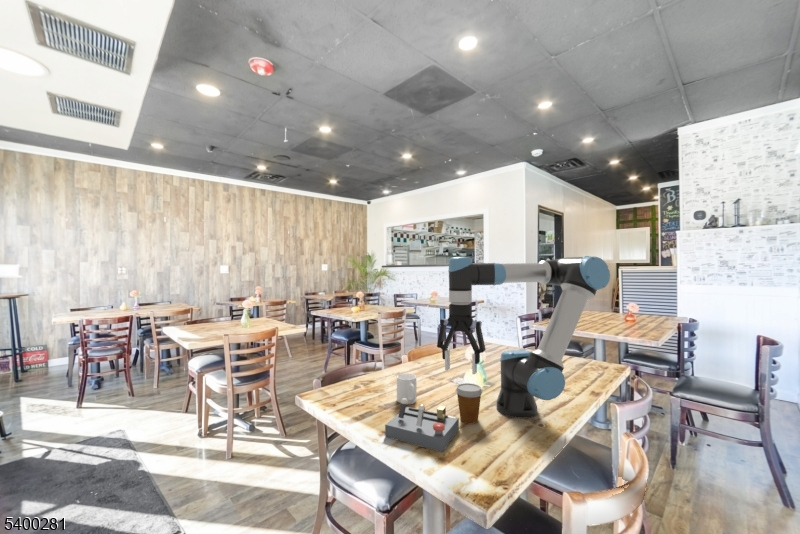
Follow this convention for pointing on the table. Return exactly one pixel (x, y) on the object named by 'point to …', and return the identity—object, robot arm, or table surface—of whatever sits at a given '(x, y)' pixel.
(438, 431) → the red button
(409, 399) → the mug
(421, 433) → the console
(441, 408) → the brass slider
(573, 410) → the table surface
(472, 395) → the disposable coffee cup
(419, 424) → the steel lever
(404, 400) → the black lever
